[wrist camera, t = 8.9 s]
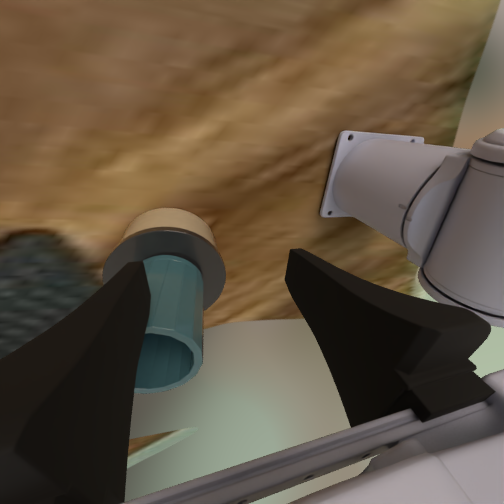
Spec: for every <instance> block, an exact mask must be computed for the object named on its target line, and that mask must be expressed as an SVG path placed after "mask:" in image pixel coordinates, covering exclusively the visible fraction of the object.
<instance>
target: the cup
mask: <svg viewBox="0 0 504 504" xmlns="http://www.w3.org/2000/svg"><path fill="white" fill-rule="evenodd" d="M143 262H144V266H145V271H146V275H147V280H148V284H149V288H150V293H151V303H150V313H149V319H148V323H147V327H146V332H145V336H144V340H143V345H142V349H141V353H140V357H139V362H138V367H137V373H136V381H135V389H134V393H141V394H147V393H149V394H150V393H156V392H164V391H168V390H171V389H173V388H176V387H179V386H181V385H183V384H185V383H186V382H188V381H189V380H190V379H192V378H193V377H194V376H196V374H197V373H198V371H199V369H200V367H201V365H202V363H203V325H204V280H203V277H202V274H201V272H200V271H199V270H198V268H197V267H196V266H195V265H193V264H192V263H191V262H189V261H188V260H186V259H183V258H181V257H177V256H172V255H158V256H153V257H150V258H147V259H145V260H143Z"/></svg>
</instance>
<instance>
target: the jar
mask: <svg viewBox="0 0 504 504" xmlns="http://www.w3.org/2000/svg"><path fill="white" fill-rule="evenodd" d="M158 255H172V256H177V257H181V258H183V259H186V260H188V261H189V262H191V263H192V264H193V265H195V266H196V267H197V268H198V270H199V271H200V272H201V274H202V277H203V280H204V311H205V310H206V309H207V308H209V307H210V306H211V305H212V304H213V303H214V302H215V301H216V300H217V299H218V297H219V296H220V294H221V292H222V290H223V288H224V285H225V280H226V271H225V266H224V262H223V259H222V257H221V255H220V253H219V252H218V249H217V245H216V241H215V237H214V235H213V233H212V231H211V229H210V228H209V226H208V225H207V224H206V223H205V222H204V221H203V220H202V219H200V218H199V217H198V216H196V215H194V214H192V213H190V212H188V211H185V210H181V209H176V208H158V209H153V210H150V211H147V212H145V213H143V214H141V215H139V216H138V217H136V218H135V219H134V220H133V221H132V222H131V223H130V224H129V225H128V227H127V228H126V230H125V232H124V234H123V236H122V238H121V240H120V242H119V243H118V244H117V245H116V246H115V248H114V249H113V250H112V251H111V253H110V255H109V257H108V258H107V260H106V262H105V265H104V268H103V275H102V276H103V284H104V285H105V284H106V283H107V282H108V281H109V280H110V279H111V278H112V277H113V276H114V275H115V274H116V273H117V272H118V271H119V270H120V269H121V268H123V267H124V266H125V265H126V264H127V263H128V262H136V261H143V260H145V259H147V258H150V257H153V256H158Z"/></svg>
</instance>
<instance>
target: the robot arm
mask: <svg viewBox="0 0 504 504" xmlns="http://www.w3.org/2000/svg"><path fill="white" fill-rule="evenodd" d="M349 135H350V139H349V140H348V136H349ZM410 141H411V142H410ZM423 143H424V138H423V137H415V136H403V135H391V134H380V133H368V132H356V131H342V132H341V133H340V134H339V137H338V141H337V145H336V149H335V153H334V157H333V161H332V165H331V169H330V173H329V177H328V181H327V185H326V190H325V194H324V198H323V202H322V206H321V210H320V215H321V216H322V217H324V218H325V217H355V218H356V219H358V220H360V221H361V222H363V223H365V224H366V225H368V226H370V227H371V228H373V229H375V230H376V231H378V232H380V233H382V234H383V235H385V236H387V237H388V238H390V239H392V240H393V241H395V242H397V243H398V244H400V245H402V246H403V247H405V248H407V249H408V255H407V259H408V260H409V261H411V262H412V263H414V264H415V265H417V266H419V267H420V269H419V271H418V279H419V282H420V284H421V286H422V287H423V288H424V290H425V291H426V292H427V293H428V294H429V295H430V296H431V297H432V298H433V299H435V300H436V301H438V302H439V303H438V302H433V301H429V300H425V299H421V298H417V297H413V296H410V295H406V294H403V293H399V292H396V291H393V290H390V289H387V288H384V287H381V286H379V285H376V284H373V283H371V282H368V281H366V280H363V279H361V278H359V277H356V276H354V275H352V274H350V273H348V272H346V271H344V270H342V269H340V268H338V267H336V266H334V265H332V264H330V263H328V262H326V261H324V260H323V259H321V258H319V257H317V256H315V255H313V254H311V253H310V252H308V251H305V250H303V249H301V248H300V249H290V253H289V259H288V264H287V270H286V275H285V282H286V284H287V287H288V289H289V292H290V294H291V296H292V298H293V300H294V301H295V303H296V305H297V307H298V308H299V310H300V312H301V313H302V315H303V317H304V318H305V320H306V322H307V323H308V325H309V327H310V328H311V330H312V332H313V334H314V336H315V338H316V340H317V342H318V344H319V346H320V349H321V350H322V353H323V355H324V358H325V360H326V362H327V364H328V367H329V369H330V372H331V374H332V377H333V379H334V382H335V384H336V386H337V389H338V392H339V395H340V397H341V400H342V403H343V406H344V408H345V412H346V414H347V417H348V420H349V423H350V426H351V428H349V429H346V430H343V431H340V432H337V433H334V434H330V435H327V436H324V437H321V438H318V439H315V440H312V441H309V442H306V443H303V444H300V445H297V446H294V447H291V448H288V449H285V450H282V451H279V452H276V453H273V454H270V455H266V456H263V457H261V458H257V459H254V460H252V461H248V462H245V463H242V464H239V465H236V466H233V467H230V468H227V469H224V470H221V471H218V472H215V473H212V474H209V475H206V476H203V477H200V478H196V479H194V480H190V481H187V482H184V483H181V484H178V485H175V486H172V487H169V488H166V489H163V490H160V491H157V492H154V493H151V494H148V495H145V496H142V497H139V498H136V499H133V500H130V501H127V502H124V499H125V485H126V484H125V483H126V471H127V458H128V446H129V435H130V424H131V415H132V406H133V397H134V389H135V381H136V373H137V367H138V362H139V357H140V353H141V349H142V345H143V340H144V336H145V332H146V327H147V323H148V319H149V313H150V303H151V293H150V288H149V284H148V280H147V275H146V271H145V266H144V262H143V261H136V262H128V263H127V264H126V265H125V266H124V267H123V268H121V269H120V270H119V271H118V272H117V273H116V274H115V275H114V276H113V277H112V278H111V279H110V280H109V281H108V282H107V283H106V284H105V285H104V286H103V287H101V288H100V289H99V290H98V291H97V292H96V293H95V294H94V295H92V296H91V297H90V298H89V299H88V300H86V301H85V302H84V303H83V304H82V305H81V306H79V307H78V308H77V309H76V310H74V311H73V312H72V313H70V314H69V315H68V316H66V317H65V318H64V319H62V320H61V321H60V322H58V323H57V324H55V325H54V326H53V327H51V328H50V329H48V330H47V331H45V332H44V333H42V334H41V335H39V336H37V337H36V338H34V339H33V340H31V341H30V342H28V343H26V344H25V345H23V346H22V347H20V348H19V349H17V350H15V351H14V352H12V353H11V354H9V355H7V356H6V357H4V358H2V359H0V504H249V503H251V502H254V501H256V500H259V499H262V498H264V497H267V496H270V495H272V494H275V493H278V492H280V491H283V490H285V489H288V488H291V487H293V486H296V485H298V484H301V483H304V482H307V481H309V480H312V479H314V478H317V477H320V476H322V475H325V474H328V473H330V472H333V471H336V470H338V469H341V468H343V467H346V466H349V465H351V464H354V463H357V462H359V461H362V460H365V459H367V458H370V457H372V456H375V455H378V454H379V455H378V456H376V457H374V458H372V459H371V461H370V463H369V465H368V466H367V468H366V469H365V470H364V471H363V472H362V473H361V474H359V475H358V476H356V477H353V478H351V479H348V480H345V481H342V482H339V483H337V484H335V485H332V486H329V487H327V488H325V489H322V490H319V491H317V492H314V493H312V494H309V495H307V496H305V497H302V498H300V499H298V500H295V501H293V502H290V503H288V504H504V369H503V370H500V371H497V372H494V373H490V374H488V375H486V376H484V377H482V378H480V377H478V375H476V374H475V373H474V372H473V371H474V370H476V369H477V368H476V365H474V364H473V363H472V362H471V361H470V360H469V359H468V358H469V357H470V356H471V355H472V354H473V353H474V352H475V351H476V350H477V349H478V348H479V346H480V345H482V343H483V342H484V341H485V340H486V339H487V337H488V335H489V334H490V332H491V325H492V326H497V327H503V328H504V128H502V129H498V130H495V131H494V132H492V133H490V134H489V135H487V136H485V137H483V138H481V139H478V140H476V142H475V143H474V144H473V147H472V149H462V148H455V147H446V146H438V145H429V144H423ZM329 211H330V213H329V214H328V212H329Z"/></svg>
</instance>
